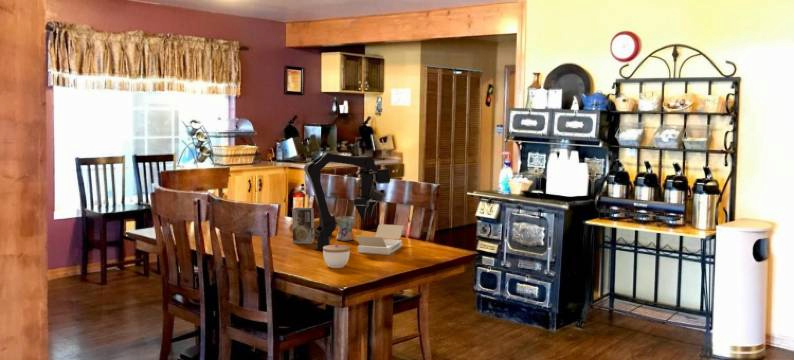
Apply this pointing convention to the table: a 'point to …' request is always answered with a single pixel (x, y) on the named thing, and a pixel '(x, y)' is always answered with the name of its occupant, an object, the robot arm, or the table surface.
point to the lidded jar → (336, 255)
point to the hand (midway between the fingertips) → (366, 218)
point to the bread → (316, 224)
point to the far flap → (389, 231)
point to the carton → (390, 243)
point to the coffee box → (303, 225)
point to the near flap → (371, 241)
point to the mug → (345, 228)
